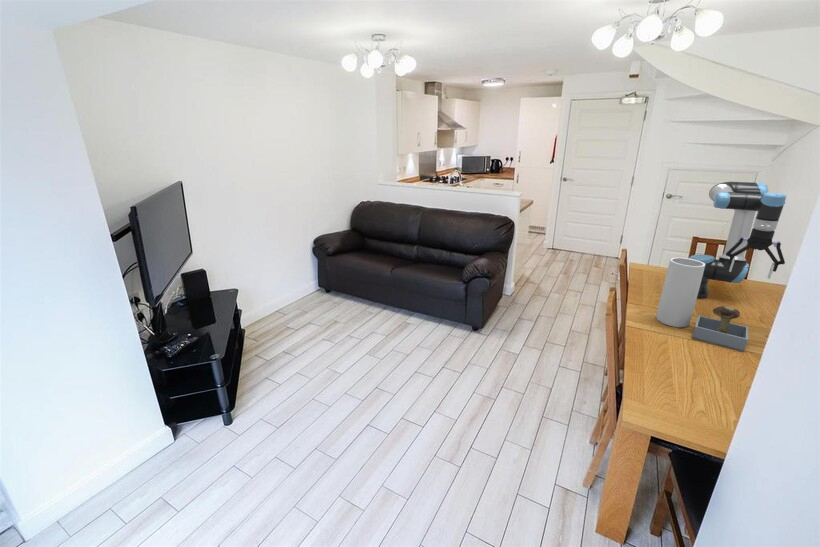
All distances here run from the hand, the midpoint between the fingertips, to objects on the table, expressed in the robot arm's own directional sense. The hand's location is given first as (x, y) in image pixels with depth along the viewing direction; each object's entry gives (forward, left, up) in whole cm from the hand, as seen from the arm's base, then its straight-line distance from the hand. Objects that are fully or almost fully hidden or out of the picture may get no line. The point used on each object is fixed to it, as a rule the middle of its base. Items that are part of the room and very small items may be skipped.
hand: (748, 274), depth 176 cm
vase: (+9, -23, -28) cm, 38 cm away
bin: (+16, -4, -28) cm, 32 cm away
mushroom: (+16, -4, -28) cm, 32 cm away
